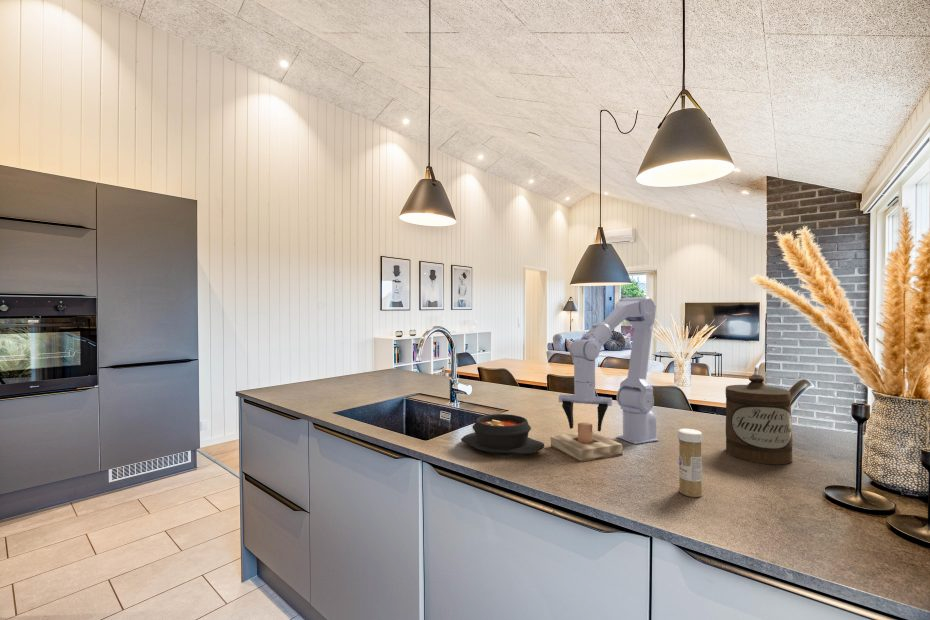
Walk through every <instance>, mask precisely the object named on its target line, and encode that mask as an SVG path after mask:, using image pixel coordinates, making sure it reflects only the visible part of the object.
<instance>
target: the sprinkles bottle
mask: <svg viewBox="0 0 930 620" xmlns="http://www.w3.org/2000/svg"><path fill="white" fill-rule="evenodd" d="M677 438H678V441H679V442H678V443H679V444H678V447H679V448H678V449H679V452H678V453H679V455H678V476H679V480H678V481H679V487H678V491H679V492H680V494H682V495H684V496H687V497H691V498H693V497H694V498H699V497H701V496H703V490H702V489H703V488H702V486H703V485H702V484H703V482H702V480H703V459H702V457H703V455H702V442H703V433H702V432H701V431H700V430H697V429H693V428H679V429H678V430H677Z"/></svg>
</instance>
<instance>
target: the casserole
mask: <svg viewBox="0 0 930 620" xmlns="http://www.w3.org/2000/svg"><path fill="white" fill-rule="evenodd" d="M472 429H473V431H474V432H471V433H468V434H465V435H464V436H463V437H461V439H460V440H461V442H462V443H464V444H467V445H470V446H471V447H473V448H475V449H477V450H479V451H483V452H487V453H490V454H495V455H512V454H519V455H529V454H535V453H537V452H539V451H542V450H543V449H544V448H545V443H544V442H542V441H539V440H537V439H533V438H531V437H529V433H530V431H531V430H532V427H531V425H529V421H528V419H527V418H525V417H523V416H519V415H515V414H509V413H508V414H507V413H506V414H505V413H493V414H486V415H481V416H478V417H477V418H476V419H475V423H474V424H473V425H472Z"/></svg>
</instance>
